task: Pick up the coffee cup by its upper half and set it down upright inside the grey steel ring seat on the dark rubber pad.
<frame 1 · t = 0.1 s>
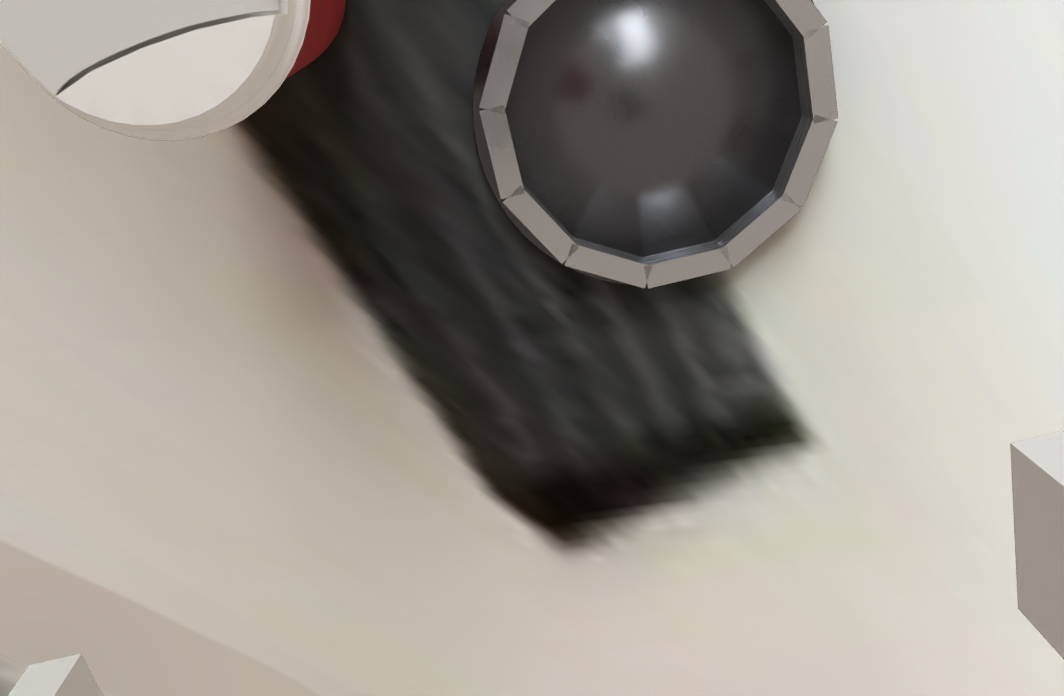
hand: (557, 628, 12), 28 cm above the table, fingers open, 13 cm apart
ring seat: (651, 109, 37), on the table
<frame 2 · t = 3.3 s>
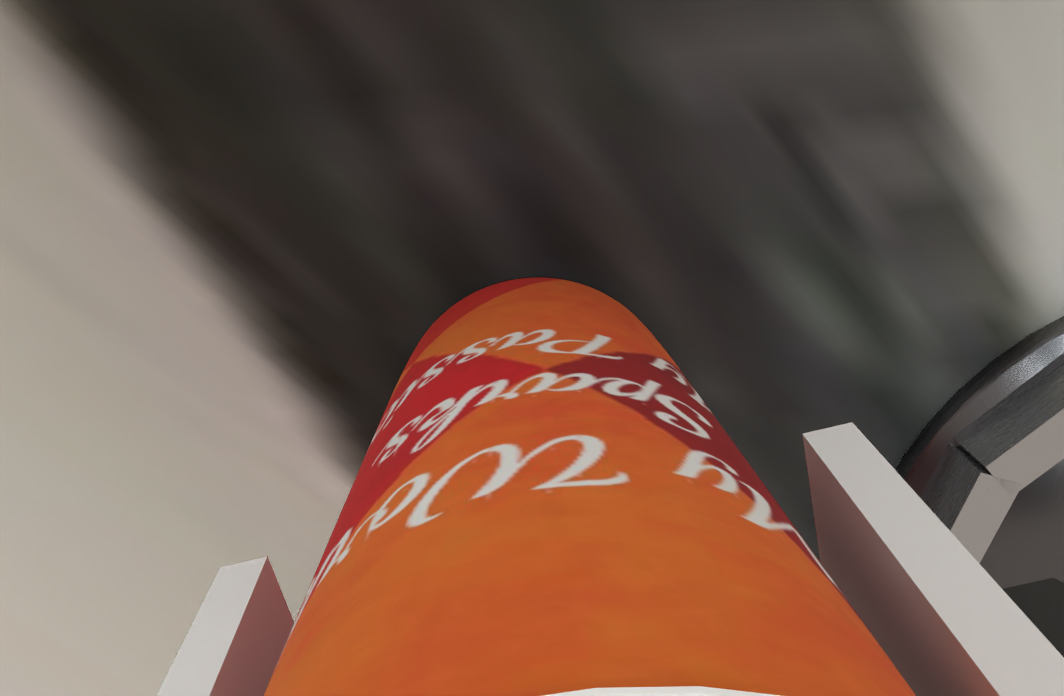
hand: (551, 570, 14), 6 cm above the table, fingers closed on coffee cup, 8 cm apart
coffee cup: (532, 400, 20), on the table, touching gripper
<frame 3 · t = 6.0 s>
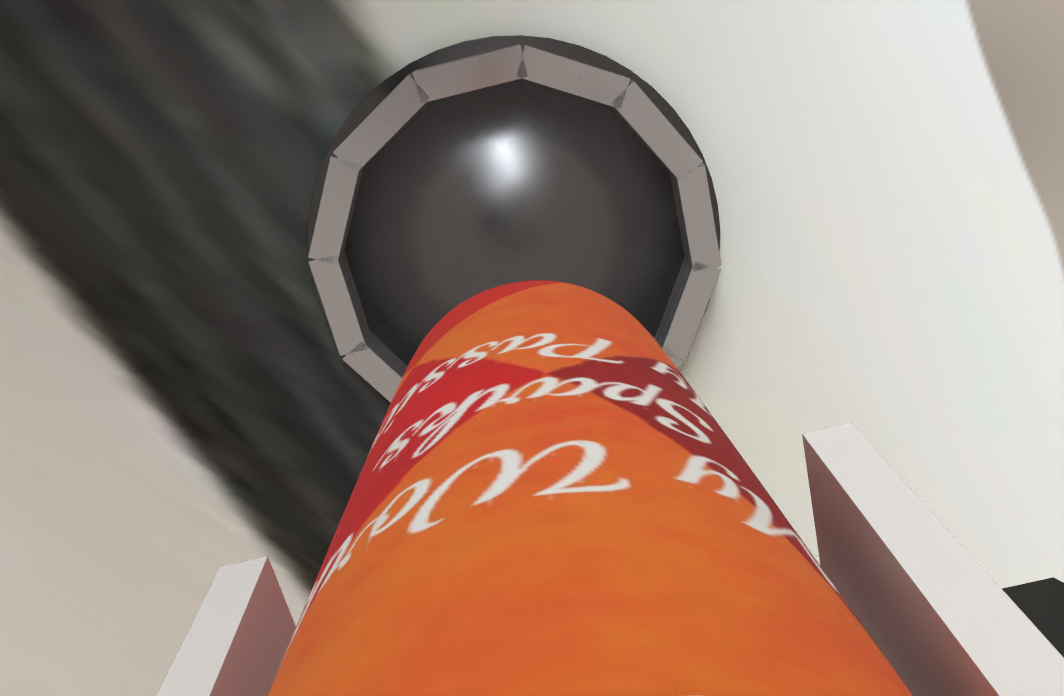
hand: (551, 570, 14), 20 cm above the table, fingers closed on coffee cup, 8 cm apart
ring seat: (515, 249, 33), on the table
coffee cup: (533, 403, 20), point 14 cm above the table, touching gripper
when the fingers open (8 cm above the table, at t = 9.0 s): coffee cup stays where it is, resting on ring seat.
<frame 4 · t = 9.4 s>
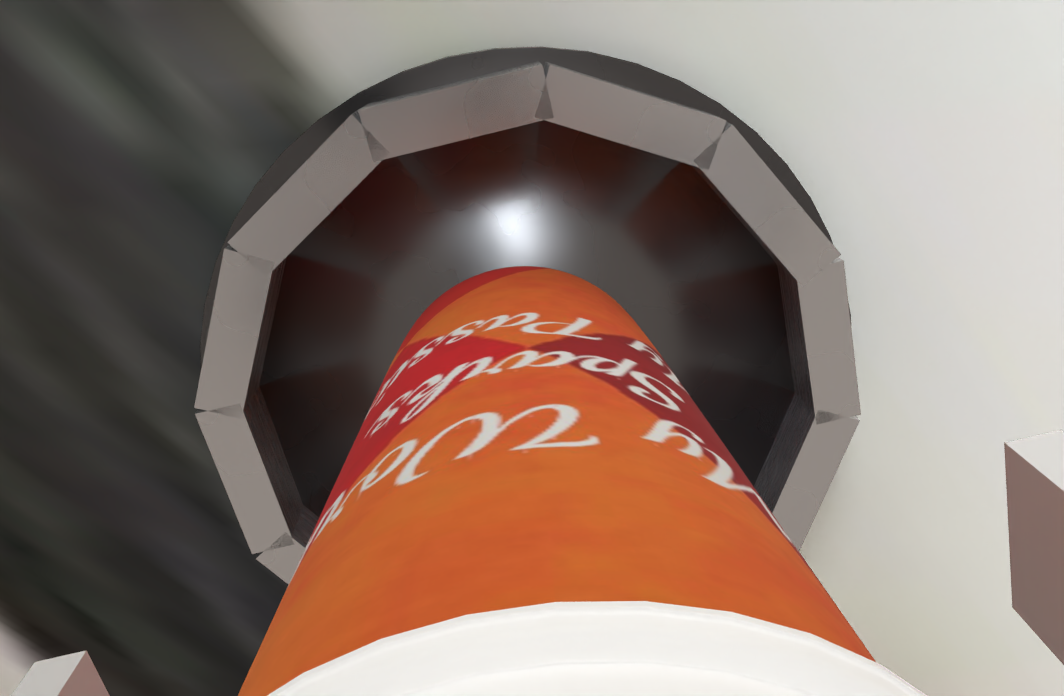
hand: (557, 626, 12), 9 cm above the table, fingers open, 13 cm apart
ring seat: (530, 379, 21), on the table
coffee cup: (520, 385, 21), resting on ring seat
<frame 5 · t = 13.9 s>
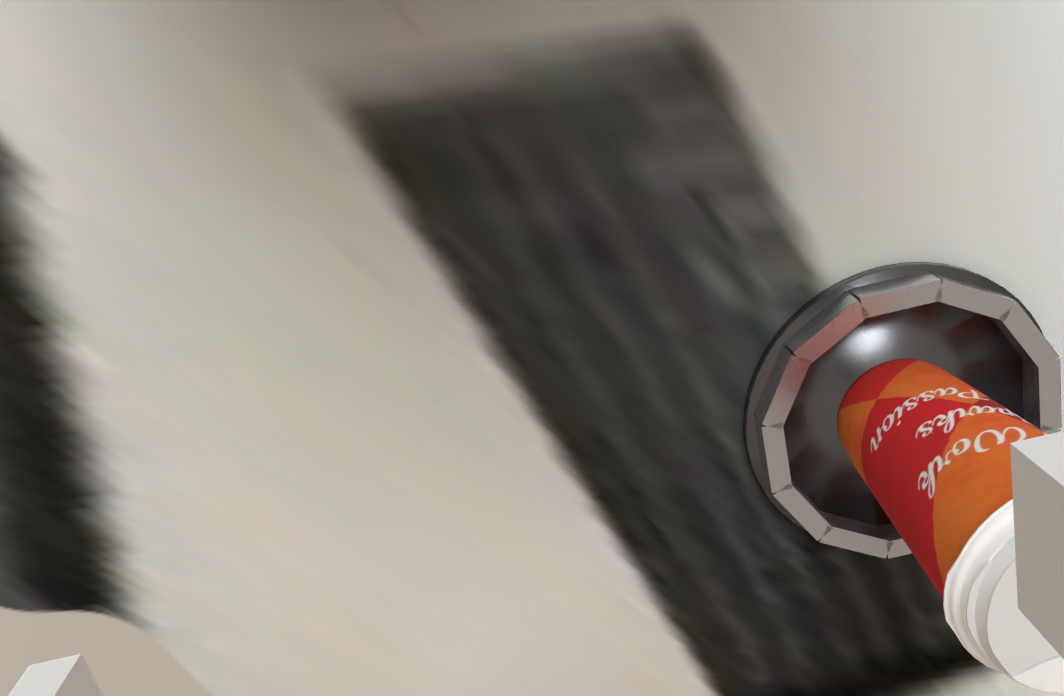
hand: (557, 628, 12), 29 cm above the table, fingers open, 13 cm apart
ring seat: (894, 409, 44), on the table
coffee cup: (893, 413, 43), resting on ring seat
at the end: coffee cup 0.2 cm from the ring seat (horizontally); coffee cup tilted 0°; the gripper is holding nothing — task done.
